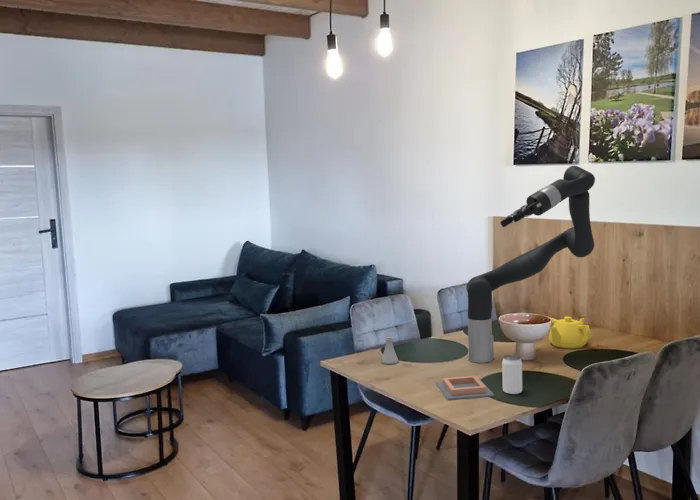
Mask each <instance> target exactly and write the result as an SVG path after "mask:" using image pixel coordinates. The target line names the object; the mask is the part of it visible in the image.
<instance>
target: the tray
mask: <svg viewBox="0 0 700 500" xmlns="http://www.w3.org/2000/svg"><path fill="white" fill-rule="evenodd" d="M435 385H436V386H437V387H438V389H439V390H440V391H441V393H442V394H443V396H444V397H445V398H446V400H447V401H453V400H464V399H466V400H467V399H476V398H477V399H479V398H489V397H490V398H491V397H495V394H494V393H493V391H492V390H490V388H489V387H487V385H486V384H485V383H484V382H483V381H482V380H481V378H479V377H477V375H469V376H455V377H443V378H442V381H436V382H435Z"/></svg>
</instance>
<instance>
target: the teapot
mask: <svg viewBox="0 0 700 500" xmlns="http://www.w3.org/2000/svg"><path fill="white" fill-rule="evenodd" d="M549 318H550V319H551V328H550V332H549V333H548V340H549V342H550V343H551V345H553V346H554V347H556V348H560V349H573V350H574V349H580V348H583V347H584V346H585V345H586V344H587V343H588V341H590V340H591V338H593V337H592V333H591V329H590V326H589V325H588V324H585V322H586V318H584V317H581V318H579V320H577V319H573V318H572V316H568V315H567V316H566V315H565V316H564V317H563V318H562V319H556V318H553V317H549Z"/></svg>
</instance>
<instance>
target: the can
mask: <svg viewBox="0 0 700 500" xmlns="http://www.w3.org/2000/svg"><path fill="white" fill-rule="evenodd" d="M501 363H502V373H501V374H502V376H501V377H502V391H503V392H504V393H505V394H508V395H519V394H521V393H522V392H523V361H522V359H521V356H519V355H516V354H507V355H504V356H503V358H502V362H501Z"/></svg>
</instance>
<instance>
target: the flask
mask: <svg viewBox="0 0 700 500" xmlns="http://www.w3.org/2000/svg"><path fill="white" fill-rule="evenodd" d="M393 340H394V338H393V336H392V337H391V336H388V337H387V336H386V337H385V348H384V351H383V355H382V358H381V360H380V361H381V363H382V364H383V365H396V364H398V363H399V362H400V361H399V359H398V356H397V354H396V351H395V348H394V344H393Z"/></svg>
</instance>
